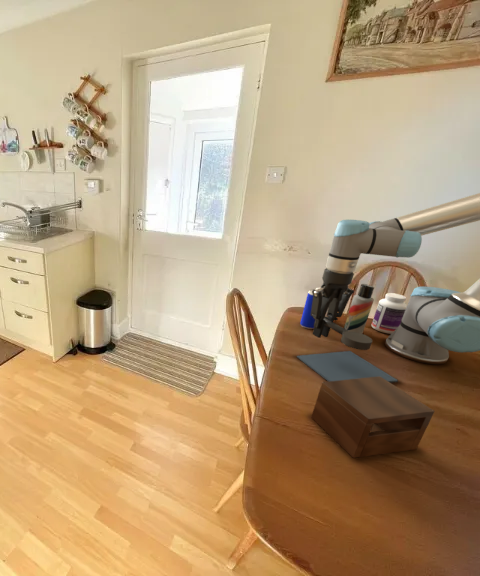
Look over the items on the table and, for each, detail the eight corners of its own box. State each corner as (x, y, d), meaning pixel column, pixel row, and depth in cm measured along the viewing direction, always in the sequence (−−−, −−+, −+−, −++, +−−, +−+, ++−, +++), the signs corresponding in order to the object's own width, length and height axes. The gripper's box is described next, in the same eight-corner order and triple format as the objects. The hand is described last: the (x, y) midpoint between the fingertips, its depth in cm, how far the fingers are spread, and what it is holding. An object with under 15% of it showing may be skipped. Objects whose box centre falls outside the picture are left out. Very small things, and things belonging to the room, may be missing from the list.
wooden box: (366, 411, 81) (379, 376, 77) (416, 449, 70) (435, 411, 66) (311, 417, 79) (322, 382, 75) (353, 458, 68) (368, 419, 64)
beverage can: (317, 329, 122) (327, 294, 116) (302, 328, 123) (312, 293, 117) (311, 323, 126) (321, 289, 121) (297, 322, 127) (306, 288, 122)
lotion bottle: (338, 330, 121) (353, 282, 114) (352, 329, 121) (367, 281, 114) (351, 338, 116) (368, 288, 108) (365, 337, 116) (382, 287, 109)
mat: (349, 352, 107) (350, 350, 107) (397, 381, 92) (398, 380, 92) (296, 357, 104) (296, 355, 104) (337, 388, 90) (337, 386, 89)
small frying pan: (322, 319, 109) (324, 312, 108) (376, 349, 91) (379, 341, 90) (304, 320, 108) (305, 313, 108) (355, 351, 90) (358, 343, 89)
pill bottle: (403, 333, 119) (416, 298, 114) (388, 336, 117) (401, 301, 111) (379, 323, 126) (391, 290, 121) (365, 326, 124) (376, 293, 119)
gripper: (327, 275, 93) (308, 342, 102) (371, 272, 95) (349, 339, 104) (308, 267, 100) (292, 331, 109) (350, 265, 102) (330, 328, 111)
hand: (319, 335), depth 106 cm, fingers closed on small frying pan, 2 cm apart
